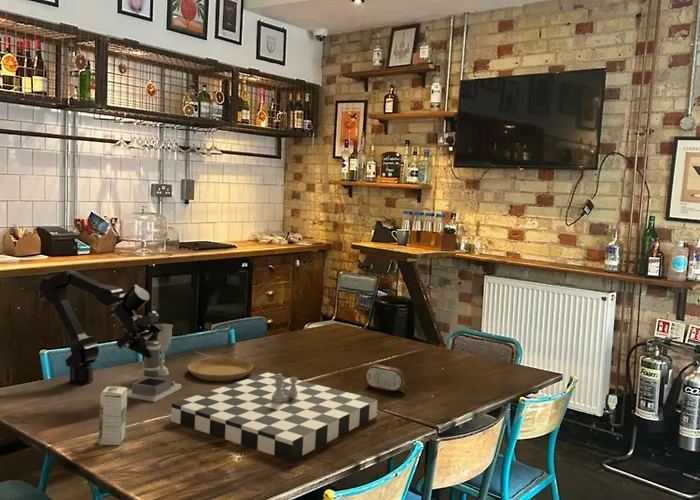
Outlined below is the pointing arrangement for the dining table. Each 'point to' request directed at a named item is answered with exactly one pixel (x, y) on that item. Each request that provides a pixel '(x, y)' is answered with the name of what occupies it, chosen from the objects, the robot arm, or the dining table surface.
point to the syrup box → (112, 415)
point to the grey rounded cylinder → (152, 359)
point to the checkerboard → (275, 414)
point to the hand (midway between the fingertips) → (155, 355)
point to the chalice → (164, 345)
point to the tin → (385, 377)
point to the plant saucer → (220, 369)
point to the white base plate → (152, 389)
